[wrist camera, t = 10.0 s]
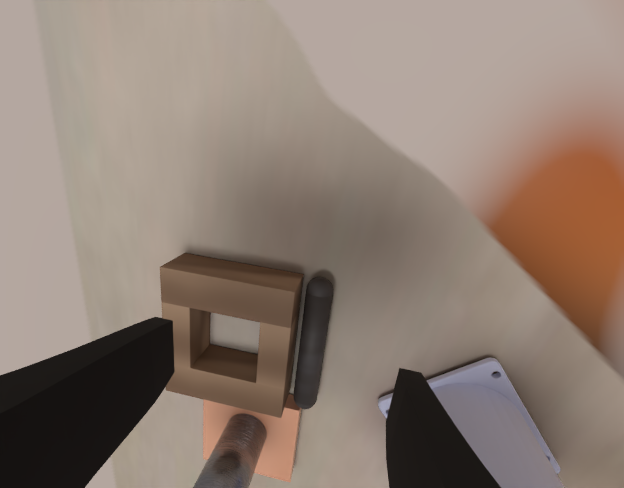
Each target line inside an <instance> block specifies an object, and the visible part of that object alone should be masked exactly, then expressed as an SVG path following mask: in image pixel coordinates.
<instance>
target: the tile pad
mask: <svg viewBox="0 0 624 488" xmlns="http://www.w3.org/2000/svg"><path fill="white" fill-rule="evenodd" d="M301 409H302V408H300V407H298V406H297V405H296V403H295V401H294V395H291V394H289V395H288V398H287V401H286V404H285V407H284V410H283V414H282V417H281V418H278V417H274V416H270V415H266V414H262V413H258V412H253V411H249V410H245V409H241V408H237V407H233V406H229V405H225V404H221V403H216V402H212V401H208V400H204V432H203V459H205V460H208V459H209V457H210V455H211V453H212V451H213V449H214V447H215V446H216V444H217V442H218V440H219V438H220V436H221V434H222V432H223V430H224V429H225V427H226V425H227V423H228V421H229V419H230V418H231V417H232V416H234V415H236V414H241V413H244V414H249V415H252V416H254V417H256V418H258V419H259V420H260V421H261V422H262V423H263V425H264V426H265V428H266V432H267V437H266V440H265V443H264V446H263V449H262V451H261V454H260V457H259V460H258V462H257V465H256V468H255V471H254V473H257V474H261V475H265V476H268V477H272V478H276V479H279V480H283V481H287V482H290V481H291V477H292V472H293V468H294V461H295V454H296V446H297V439H298V432H299V424H300V417H301Z"/></svg>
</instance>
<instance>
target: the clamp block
mask: <svg viewBox="0 0 624 488" xmlns="http://www.w3.org/2000/svg"><path fill="white" fill-rule="evenodd" d="M303 276H304V274H299V273H293V272H288V271H282V270H277V269H271V268H265V267H260V266H254V265H248V264H243V263H237V262H232V261H226V260H220V259H215V258H209V257H204V256H198V255H192V254H187V253H184V254H182V255H181V256H179V257H177V258H175V259H173V260H172V261H170V262H168V263H166V264H164V265H163V266H161V267H160V279H161V300H162V318H163V319H168V320H173V341H174V368H175V372H174V374H173V375H172V377H171V379H170V380H169V382H168V383H167V385H166V390H167V391H171V392H175V393H179V394H184V395H188V396H192V397H196V398H200V399H204V400H208V401H212V402H216V403H221V404H225V405H229V406H233V407H237V408H241V409H245V410H249V411H253V412H258V413H262V414H266V415H270V416H274V417H278V418H281V417H282V414H283V410H284V407H285V404H286V401H287V398H288V395H289V391H290V388H291V379H292V370H293V362H294V353H295V345H296V336H297V327H298V319H299V310H300V302H301V293H302V285H303ZM332 297H333V287H332V284H331V283H330V281H328V280H327V279H325V278H323V277H317V278H314V279H312V280H311V281H310V282H309V283H308V285H307V289H306V297H305V305H304V314H303V322H302V330H301V338H300V346H299V355H298V363H297V371H296V379H295V387H294V401H295V403H296V405H297V406H298V407H300V408H302V409H309V408H311V407H312V406H313V405H314V404H315V402H316V400H317V394H318V388H319V381H320V375H321V368H322V362H323V355H324V349H325V342H326V336H327V329H328V323H329V316H330V310H331V303H332ZM210 312H212V313H217V314H222V315H227V316H232V317H237V318H242V319H247V320H252V321H257V322H260V335H259V349H258V355H257V354H252V353H247V352H243V351H238V350H234V349H229V348H224V347H220V346H215V345H211V344H210Z"/></svg>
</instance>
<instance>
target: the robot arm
mask: <svg viewBox="0 0 624 488" xmlns="http://www.w3.org/2000/svg"><path fill="white" fill-rule="evenodd" d="M495 371H498V372H497V373H496V374H492V373H493V372H495ZM174 372H175V368H174V341H173V320H168V319H163V318H158V317H154V318H151V319H148V320H145V321H142V322H140V323H137V324H134V325H132V326H129V327H127V328H124V329H122V330H120V331H117V332H115V333H112V334H110V335H107V336H105V337H102V338H100V339H97V340H95V341H92V342H90V343H88V344H85V345H82V346H80V347H78V348H75V349H72V350H70V351H67V352H64V353H62V354H59V355H56V356H54V357H51V358H48V359H46V360H43V361H40V362H38V363H35V364H32V365H30V366H27V367H24V368H21V369H18V370H15V371H12V372H10V373H6V374H3V375H0V488H85V486H86V485H87V484H88V483H89V481H90V480H91V479H92V477H93V476H94V475H95V474H96V473H97V471H98V470H99V469H100V468H101V467H102V466H103V464H104V463H105V462H106V461H107V460H108V458H109V457H110V456H111V455H112V454H113V452H114V451H115V450H116V449H117V448H118V446H119V445H120V444H121V443H122V442H123V440H124V439H125V438H126V437H127V436H128V434H129V433H130V432H131V431H132V430H133V428H134V427H135V426H136V425H137V424H138V422H139V421H140V420H141V419H142V418H143V416H144V415H145V414H146V413H147V412H148V410H149V409H150V408H151V407H152V405H153V404H154V403H155V401H156V400H157V399H158V397H159V396H160V394H161V393H162V391H163V390H164V388H165V387H166V385H167V383H168V382H169V380H170V379H171V377H172V375H173V374H174ZM378 407H379V409H380V410H381V412H382V413H383V415H384V416H385V418H386V460H387V470H388V479H389V488H565V487H564V485H563V483H562V482H561V480H560V478H559V477H558V475H557V474H558V473H559V472H560V470H561V469H560V467H559V465H558V463H557V461H556V460H555V458H554V456H553V454H552V453H551V451H550V449H549V448H548V446H547V444H546V442H545V441H544V439H543V437H542V435H541V434H540V432H539V430H538V428H537V427H536V425H535V423H534V422H533V420H532V418H531V416H530V415H529V413H528V411H527V409H526V408H525V406H524V404H523V403H522V401H521V399H520V397H519V396H518V394H517V392H516V390H515V389H514V387H513V385H512V384H511V382H510V380H509V378H508V377H507V375H506V373H505V371H504V370H503V368H502V366H501V365H500V363H499V361H498V360H497V359H495V358H486V359H483V360H480V361H478V362H475V363H472V364H469V365H467V366H464V367H461V368H459V369H456V370H453V371H451V372H448V373H445V374H442V375H440V376H437V377H434V378H432V379H429V380H426V379H425V378H424V376H423V375H422V373H420V372H415V371H410V370H406V369H401V368H399V372H398V376H397V380H396V384H395V388H394V392H393V393H391V394H388V395H386V396H383V397H381V398H379V400H378ZM387 409H389V410H387Z"/></svg>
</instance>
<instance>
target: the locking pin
mask: <svg viewBox="0 0 624 488" xmlns="http://www.w3.org/2000/svg"><path fill="white" fill-rule="evenodd" d="M266 437H267V432H266V428H265V426H264V425H263V423H262V422H261V421H260V420H259V419H258V418H256V417H254V416H252V415H249V414H244V413H241V414H236V415H234V416H232V417H231V418H230V419H229V421H228V423H227V425H226V427H225V429H224V430H223V432H222V434H221V436H220V438H219V440H218V442H217V444H216V446H215V447H214V449H213V451H212V453H211V455H210V457H209V459H208V461H207V462H206V464H205V466H204V468H203V470H202V472H201V474H200V476H199V477H198V479H197V481H196V483H195V485H194V487H193V488H249V485H250V482H251V479H252V476H253V474H254V471H255V468H256V465H257V462H258V460H259V457H260V454H261V451H262V449H263V446H264V443H265V440H266Z"/></svg>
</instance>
